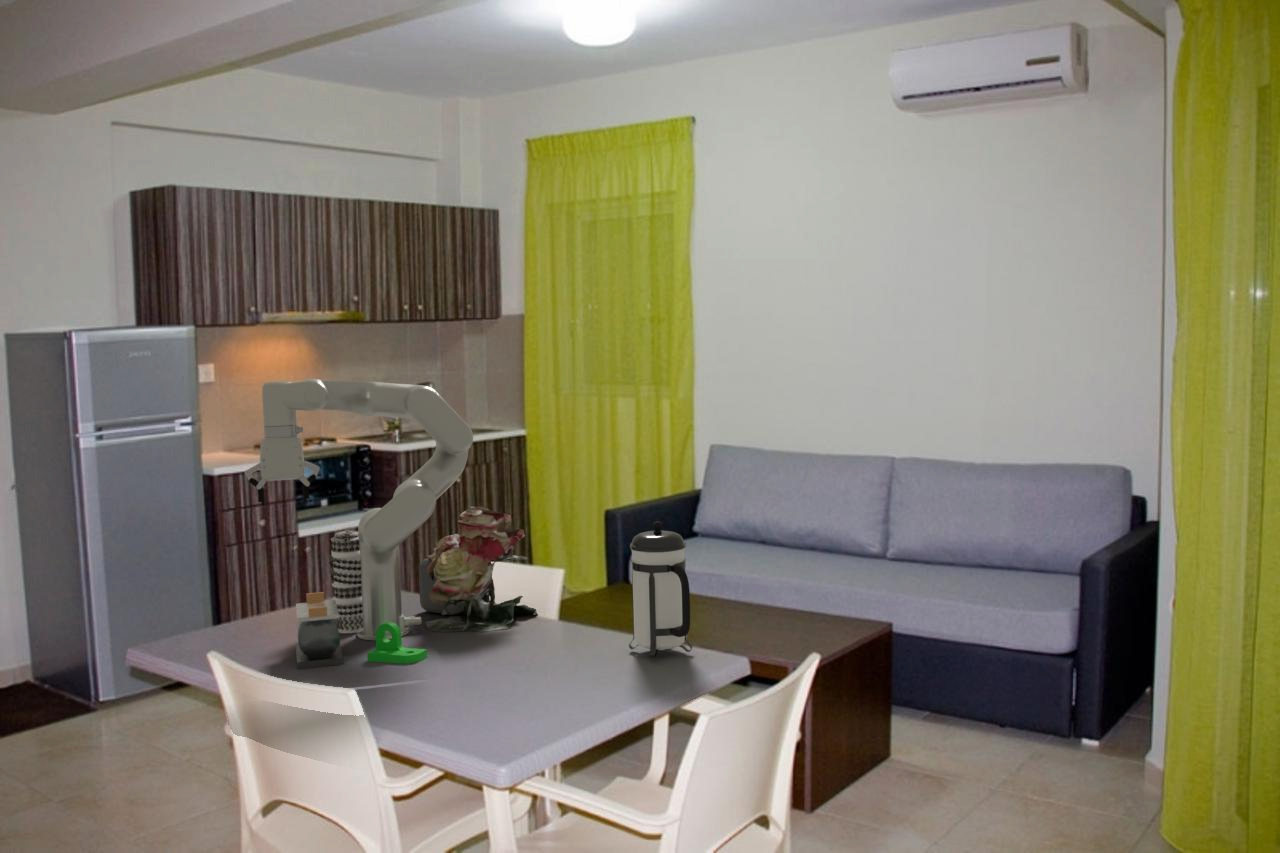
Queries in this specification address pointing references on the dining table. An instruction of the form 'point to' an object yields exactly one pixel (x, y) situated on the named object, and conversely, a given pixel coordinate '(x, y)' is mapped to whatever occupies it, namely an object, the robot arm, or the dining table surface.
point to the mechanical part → (393, 647)
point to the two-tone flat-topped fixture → (317, 633)
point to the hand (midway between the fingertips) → (284, 503)
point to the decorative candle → (347, 580)
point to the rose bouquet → (474, 572)
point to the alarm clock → (425, 588)
